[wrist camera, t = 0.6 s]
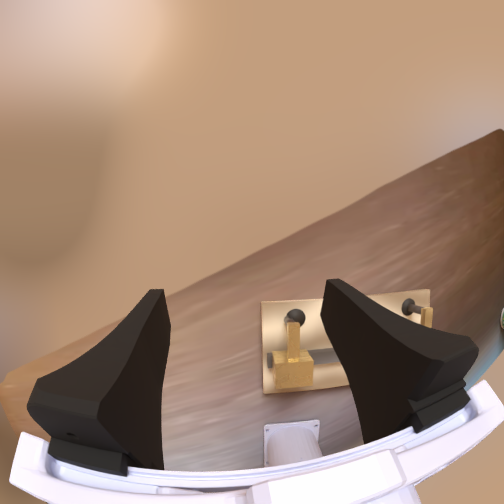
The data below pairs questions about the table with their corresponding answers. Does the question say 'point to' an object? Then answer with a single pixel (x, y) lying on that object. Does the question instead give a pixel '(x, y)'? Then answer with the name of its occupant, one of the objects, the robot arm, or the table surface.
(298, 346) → the tan block with post
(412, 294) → the board
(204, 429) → the table surface
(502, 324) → the supplement bottle
